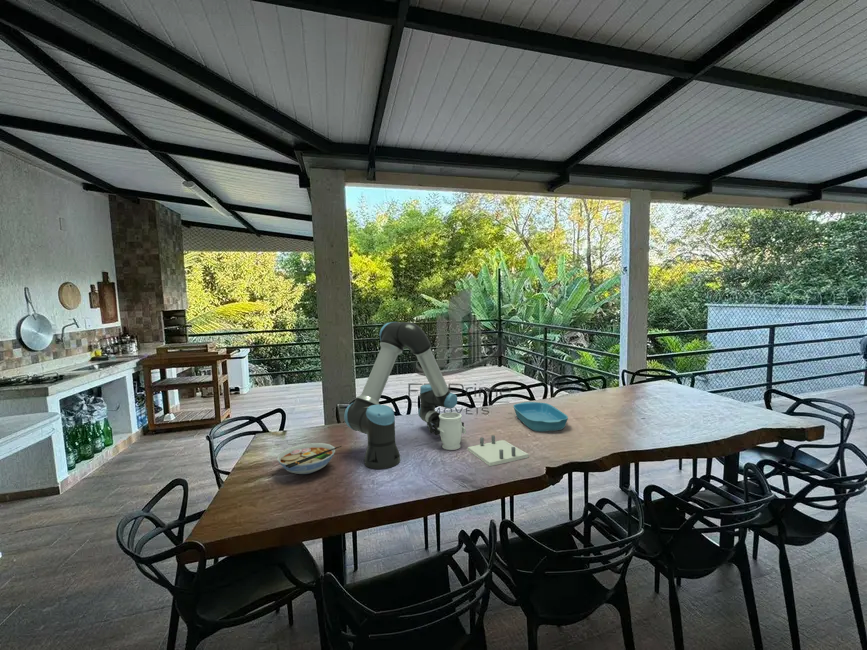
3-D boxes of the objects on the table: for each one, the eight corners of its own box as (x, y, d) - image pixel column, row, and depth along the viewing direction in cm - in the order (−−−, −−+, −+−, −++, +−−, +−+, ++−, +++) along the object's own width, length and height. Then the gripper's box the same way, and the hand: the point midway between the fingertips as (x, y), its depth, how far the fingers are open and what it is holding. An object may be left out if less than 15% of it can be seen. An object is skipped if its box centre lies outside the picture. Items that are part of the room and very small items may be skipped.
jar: (437, 450, 174) (436, 418, 173) (442, 442, 184) (441, 411, 183) (460, 452, 172) (459, 419, 171) (464, 443, 182) (463, 412, 181)
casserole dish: (575, 433, 191) (575, 418, 191) (532, 436, 189) (532, 422, 188) (545, 412, 228) (544, 400, 228) (508, 414, 225) (508, 402, 225)
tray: (489, 466, 156) (489, 454, 156) (467, 450, 173) (467, 439, 173) (528, 457, 163) (528, 446, 163) (503, 442, 181) (503, 432, 180)
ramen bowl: (317, 454, 175) (316, 436, 175) (349, 466, 161) (348, 447, 160) (264, 474, 156) (263, 454, 155) (295, 490, 141) (293, 468, 141)
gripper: (455, 423, 199) (476, 436, 178) (414, 430, 190) (431, 445, 169) (455, 409, 198) (476, 420, 178) (413, 415, 189) (431, 428, 169)
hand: (454, 432), depth 173 cm, fingers closed on jar, 10 cm apart
